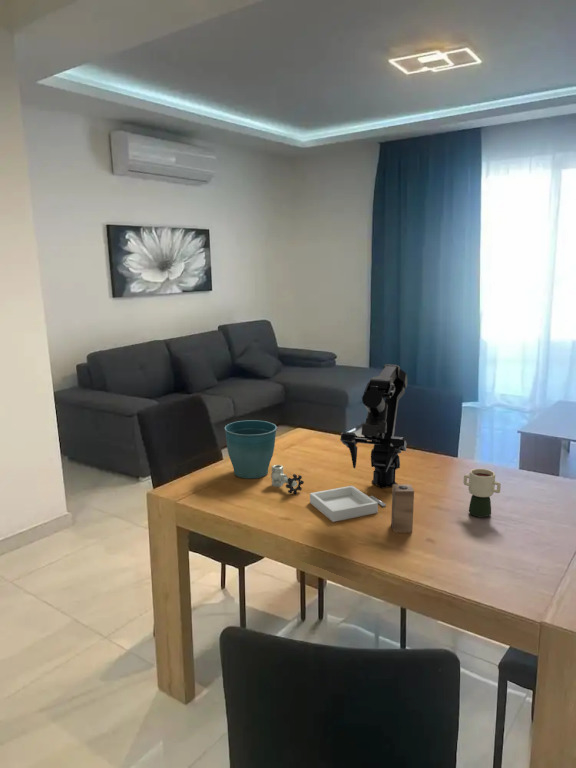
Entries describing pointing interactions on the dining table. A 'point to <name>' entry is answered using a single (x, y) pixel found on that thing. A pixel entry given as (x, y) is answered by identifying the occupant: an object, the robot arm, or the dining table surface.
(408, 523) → the walnut block
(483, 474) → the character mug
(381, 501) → the steel pin
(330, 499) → the tray
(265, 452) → the flower pot
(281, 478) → the valve
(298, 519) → the dining table surface
